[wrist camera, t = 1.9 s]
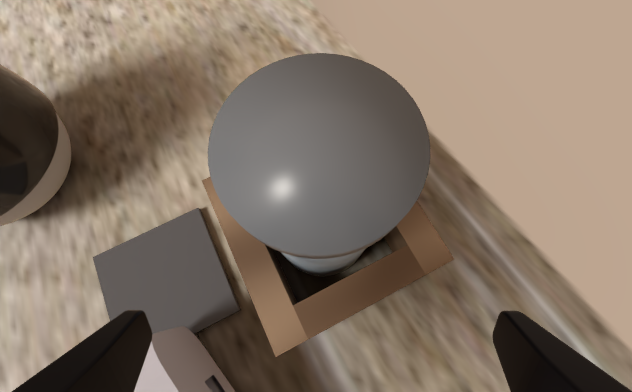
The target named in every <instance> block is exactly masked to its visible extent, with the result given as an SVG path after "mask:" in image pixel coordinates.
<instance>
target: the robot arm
mask: <svg viewBox="0 0 632 392" xmlns="http://www.w3.org/2000/svg"><path fill="white" fill-rule="evenodd" d="M151 341H152V330H151V327H150V324H149V322H148V319H147V316H146V314H145V312H144V311H143V310H127V311H124V312H123V313H121V314H120V315H118V316H117V317H116V318H114V319H113V320H111V321H110V322H109V323H107V324H106V325H104V326H103V327H102V328H100V329H99V330H97V331H96V332H95V333H93V334H92V335H90V336H89V337H88V338H86V339H85V340H83V341H82V342H81V343H79V344H78V345H76V346H75V347H74V348H72V349H71V350H69V351H68V352H67V353H65V354H64V355H62V356H61V357H60V358H58V359H57V360H55V361H54V362H53V363H51V364H50V365H48V366H47V367H46V368H44V369H43V370H41V371H40V372H39V373H37V374H36V375H34V376H33V377H32V378H30V379H29V380H27V381H26V382H25V383H23V384H22V385H20V386H19V387H18V388H16V389H15V390H13V391H12V392H134V390H135V387H136V384H137V381H138V378H139V376H140V373H141V370H142V367H143V364H144V361H145V358H146V356H147V353H148V350H149V347H150V344H151ZM493 343H494V346H495V349H496V351H497V354H498V357H499V360H500V363H501V366H502V368H503V371H504V374H505V377H506V380H507V383H508V385H509V388H510V391H511V392H632V391H631V390H629V389H628V388H627V387H625V386H624V385H622V384H621V383H620V382H618V381H617V380H615V379H614V378H613V377H611V376H610V375H608V374H607V373H606V372H604V371H603V370H601V369H600V368H599V367H597V366H596V365H594V364H593V363H592V362H590V361H589V360H587V359H586V358H585V357H583V356H582V355H580V354H579V353H578V352H576V351H575V350H573V349H572V348H571V347H569V346H568V345H566V344H565V343H564V342H562V341H561V340H559V339H558V338H557V337H555V336H554V335H552V334H551V333H550V332H548V331H547V330H545V329H544V328H543V327H541V326H540V325H538V324H537V323H536V322H534V321H533V320H531V319H530V318H529V317H527V316H526V315H524V314H523V313H521V312H519V311H502V312H501V313H500V314H499V316H498V319H497V322H496V325H495V328H494V331H493Z"/></svg>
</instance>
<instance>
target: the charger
mask: <svg viewBox="0 0 632 392" xmlns="http://www.w3.org/2000/svg"><path fill="white" fill-rule="evenodd" d="M134 392H235V390H234V389H233V388H232V386H231V385H230V383H229V382H228V380H227V379H226V377H225V376H224V375H223V373H222V372H221V370H220V369H219V367H218V366H217V364H216V363H215V362H214V360H213V359H212V357H211V356H210V354H209V353H208V351H207V350H206V349H205V347H204V346H203V345H202V343H201V342H200V341H199V339H198V338H197V337H196V336H195V335H194V334H193V333H192V332H191V331H190V330H189V329H188V328H186V327H184V326H180V327H176V328H173V329H169V330H165V331H161V332H158V333H154V334H152V341H151V344H150V347H149V350H148V353H147V356H146V358H145V361H144V364H143V367H142V370H141V373H140V376H139V378H138V381H137V384H136V387H135V390H134Z"/></svg>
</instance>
